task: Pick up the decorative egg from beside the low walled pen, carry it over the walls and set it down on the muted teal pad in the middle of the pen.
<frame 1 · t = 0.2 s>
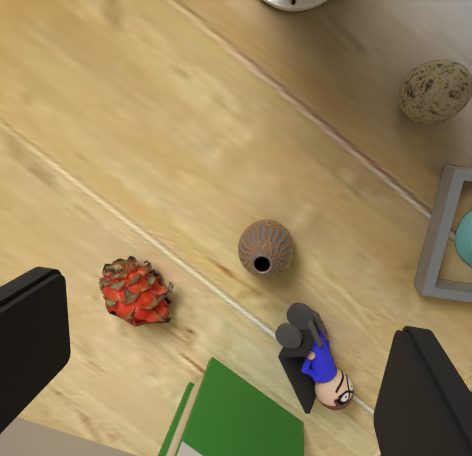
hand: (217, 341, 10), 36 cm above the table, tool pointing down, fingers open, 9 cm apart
character figurine: (312, 342, 50), on the table
decorative egg: (419, 95, 39), on the table
vase: (268, 238, 47), on the table
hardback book: (244, 402, 56), on the table
dragon fruit: (148, 281, 52), on the table
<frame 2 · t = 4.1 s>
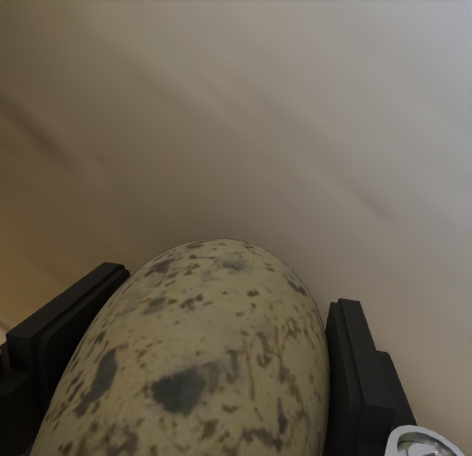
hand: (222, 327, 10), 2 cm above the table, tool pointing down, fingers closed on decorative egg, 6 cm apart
decorative egg: (236, 287, 13), on the table, touching gripper
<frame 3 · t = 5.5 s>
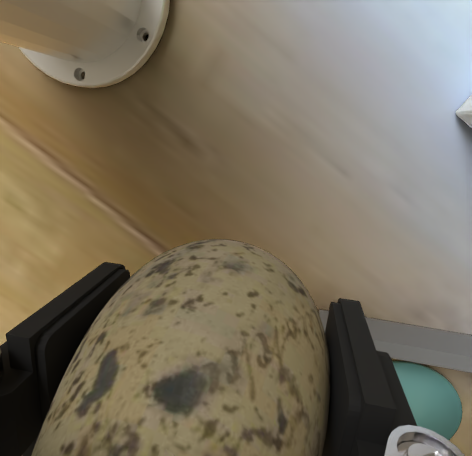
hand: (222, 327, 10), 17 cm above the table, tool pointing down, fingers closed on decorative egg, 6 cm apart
walled pen: (399, 408, 29), on the table
decorative egg: (236, 288, 13), point 14 cm above the table, touching gripper
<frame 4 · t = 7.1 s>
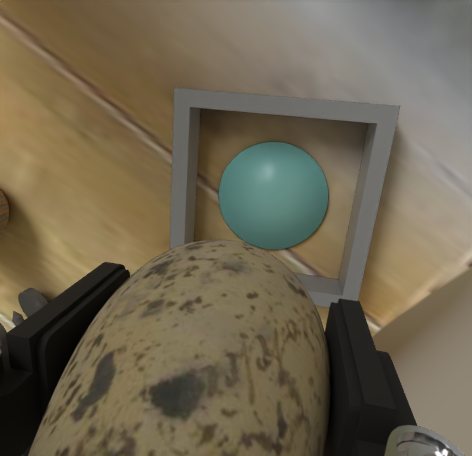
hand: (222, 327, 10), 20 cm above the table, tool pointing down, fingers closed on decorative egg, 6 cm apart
character figurine: (70, 343, 38), on the table
walled pen: (272, 197, 29), on the table
decorative egg: (236, 289, 13), point 17 cm above the table, touching gripper
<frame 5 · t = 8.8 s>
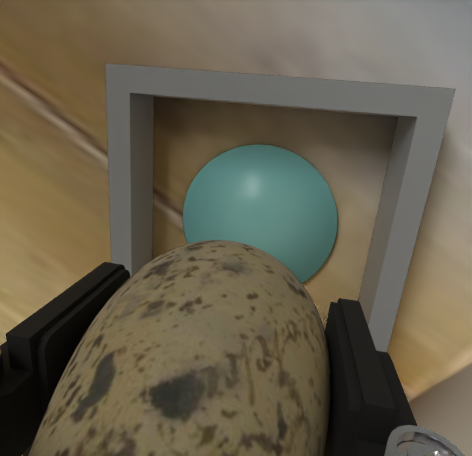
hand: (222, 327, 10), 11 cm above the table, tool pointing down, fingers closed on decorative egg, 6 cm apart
walled pen: (257, 222, 21), on the table
decorative egg: (236, 289, 13), point 8 cm above the table, touching gripper
when the fingers open (5 cm above the table, at t = 10.8 s): decorative egg drops 2 cm, resting on walled pen.
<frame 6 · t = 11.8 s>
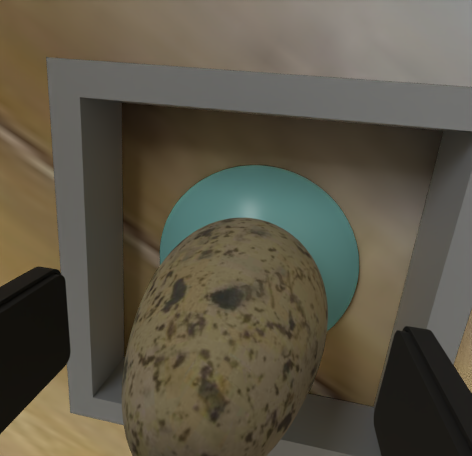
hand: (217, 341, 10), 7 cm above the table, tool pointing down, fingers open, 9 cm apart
walled pen: (255, 264, 16), on the table
decorative egg: (255, 262, 16), resting on walled pen
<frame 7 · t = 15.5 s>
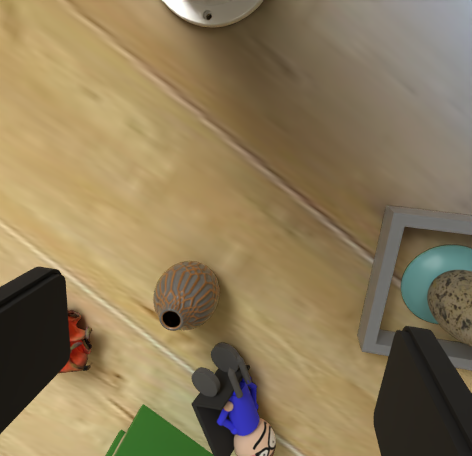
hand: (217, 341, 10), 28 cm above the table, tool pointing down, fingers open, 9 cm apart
character figurine: (240, 385, 45), on the table
walled pen: (446, 285, 37), on the table
decorative egg: (447, 284, 36), resting on walled pen
vase: (196, 279, 42), on the table
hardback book: (180, 453, 50), on the table
dragon fruit: (70, 321, 47), on the table
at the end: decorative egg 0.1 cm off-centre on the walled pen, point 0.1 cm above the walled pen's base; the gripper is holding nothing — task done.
